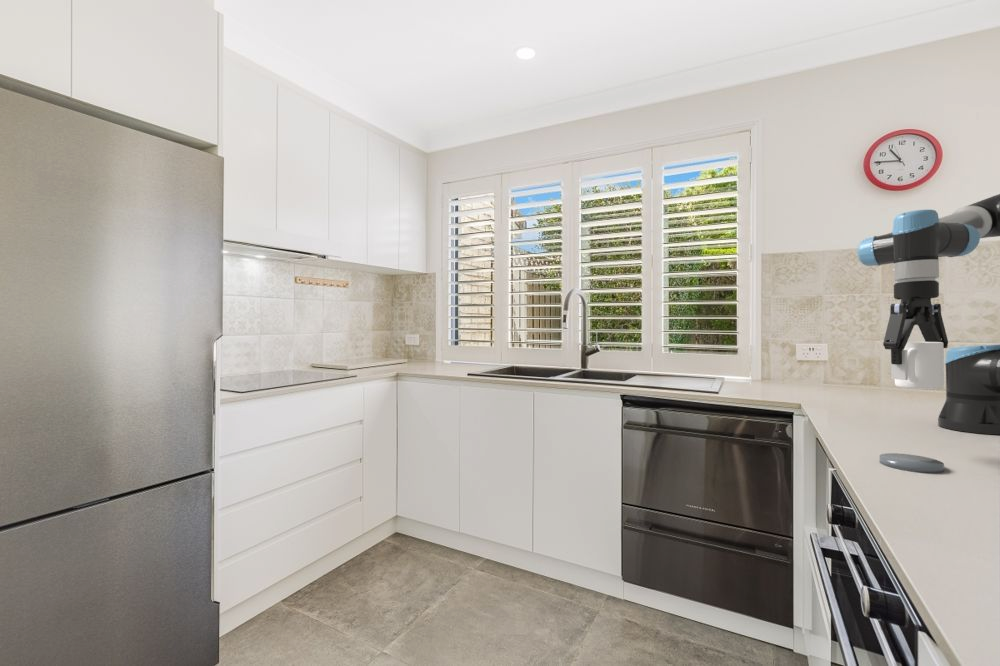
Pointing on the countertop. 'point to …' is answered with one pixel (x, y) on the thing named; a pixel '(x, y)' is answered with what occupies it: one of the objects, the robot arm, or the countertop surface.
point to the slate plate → (911, 462)
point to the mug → (924, 366)
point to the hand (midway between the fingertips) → (916, 378)
